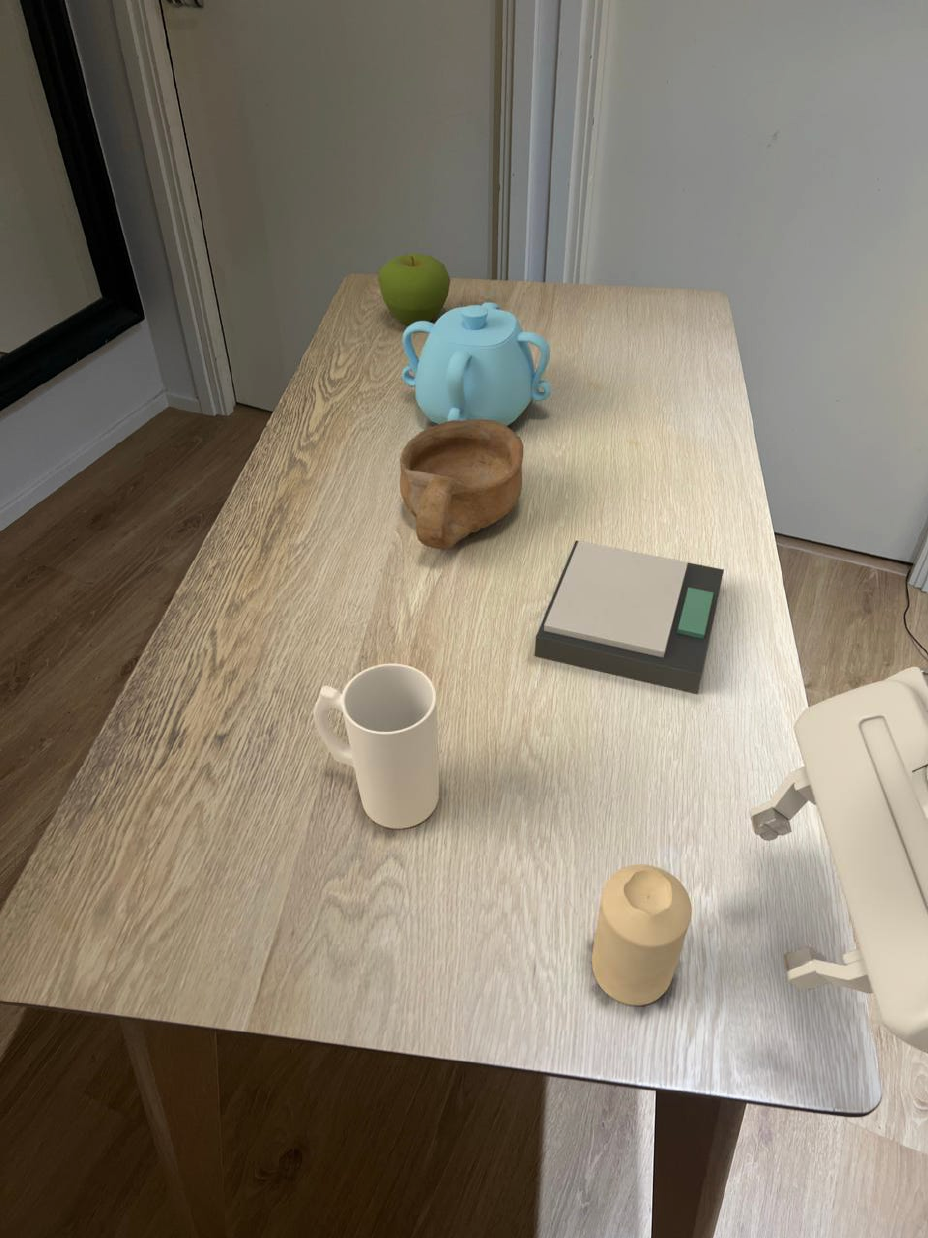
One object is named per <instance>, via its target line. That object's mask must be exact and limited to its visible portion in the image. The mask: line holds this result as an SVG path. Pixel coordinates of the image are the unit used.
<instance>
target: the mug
mask: <svg viewBox="0 0 928 1238" xmlns="http://www.w3.org/2000/svg"><path fill="white" fill-rule="evenodd" d="M330 710H337V711H339V712H341V713H343V720H344V725H345V729H346V734H347V740H348V743H349V744H348V743H347V742H345V741H344V740H343V739H342V738H340V736H338V734H337V733H336V732H335V731H334V730H333V729H334V728H333V727H332V725H331V723H330V721H329V716H328V714H329V713H328V712H330ZM313 720H314V724H315V727H316V730H317V732H318V734H319V736H320V738H321V740H322V742H323V743H324V744H325V746H326V748H327V750H328V752H329V753H330V754H331V756H332V758H333V760H334V761H335V762H337V763H339V764H343V765H345V766H348V767H351V768H353V769H354V771H355V772H354V773H355V777H356V778H355V779H356V782H357V787H358V793H359V796H360V800H361V805H362V807H363V810H364V812H365V813H366V815H367V816H368V817H369V819H370V820H372V821H373V822H374V823H376V824H378V825H379V826H382V827H385V828H387V829H388V828H389V829H395V830H396V829H407V828H411V827H412V828H413V827H414V826H417V825H419V824H421V823H422V822H424V821H425V820H427V819H428V818H429V817H430V816H431V815H432V814H433V813H434V811H435V809H436V807H437V806H438V802H439V799H440V798H439V797H440V768H439V767H440V766H439V765H440V764H439V736H438V735H439V733H438V731H439V730H438V729H439V728H438V703H437V691H436V687H435V685H434V683H433V681H432V680H431V679H430V678H429V676H428V675H427V674H426V673H424V672H423V671H421V670H420V669H418V668H416V667H413V666H411V665H407V664H403V663H382V664H377V665H372V666H371V667H370V666H369V667H368V668H366V669H364V670H362V671H360V672H358V673H357V674H356V675H355V676H353V677H351V679H350V680H349V681H348V682H347V684H345V686H344V689H343V691H342V693H341V691H340V690H339V689H337V688H335V687H332V686H330V685H326V684H325V685H324V686H323V685H322V687H321V689H320V691H319V697H318V699H317V700H316V702H315V704H314V708H313Z"/></svg>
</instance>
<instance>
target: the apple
mask: <svg viewBox="0 0 928 1238" xmlns="http://www.w3.org/2000/svg"><path fill="white" fill-rule="evenodd" d="M377 281H378V285H379V289H380V292H381V297H382V299H383V302H384V304H385V306H386V307H387V309H388V311H389V313H390V315H391V317H392V318H393V319H395V320H396V321H397V322H399V323H401V324H402V325H403V326H405V327H408V326H410V325H411V324H413V323H415V322H419V321H426V322H431V321H432V320H433V319H435V318H437V317H438V316H439V315H440V313H441V312H442V309H443V307H444V305H445V303H446V301H447V299H448V296H449V292H450V284H451V277H450V275H449V272H448V270H447V268H446V266H445V264H444V263H443V262H441V261H440V260H438V259H437V258H436V257H434V256H432V255H427V254H422V253H406V254H403V255H399V256H396V257H394V258H391V259H390V260H389V261H387V263H385V264H384V265H383V266H382V267H381V268H380V270H379V274H378V278H377Z"/></svg>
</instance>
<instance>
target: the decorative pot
mask: <svg viewBox="0 0 928 1238" xmlns="http://www.w3.org/2000/svg"><path fill="white" fill-rule="evenodd" d="M418 332H422V333H427V334H428V336H427V338H426V341H425V343H424V345H423V347H422V350H421V353H420V356H419V357H418V356H417V353H416V351H415V349H414V346H413V345H414V344H413V341H412V335H413V334H414V333H418ZM401 339H402V341H401V343H402V347H403V348H402V349H403V351H404V354H405V356H406V359H407V361H408V363H409V364H408V365H406V366H405V367H403V369H402V371H401V380H402V381H403V383H404V384H406V385H407V386H410V387H412V388H415V390H414V391H415V393H414V395H415V400H416V403H417V406H418V407H419V408H420V410H421V412H422V413H423V414H424V415H425V417H427V418H428V419H429V420H430V421H431V422H433V424H436V425H438V424H441V423H444V422H447V421H451V420H458V421H461V420H472V419H487V420H493V421H497V422H500V423H502V424H504V425H505V426H507V427H508V426H509V425H511V424H513V422H515V421H516V420H518V418H519V417H520V416H521V415H522V414H523V412H524V411H525V410H526V409H527V407H528V406H529V404H530V403H531V401H532V400H533V401H535V402H544V401H546V400H548V399H549V398H550V397H551V395H552V389H553V388H552V386H551V383H549V382H548V381H547V380H542V378H543V376H544V374H545V372H546V370H547V367H548V365H549V361H550V357H551V348H550V345H549V342H548V341H547V340H546V338H545V337H543V336H541V334H538V333H536V332H533V331H523V328H522V326H521V324H520V322H519V320H518V319H517V317H516V316H515V315H514V314H513V313H511V312H509V311H506V310H501V307H500V306H499V305H498V304H497V303H495V302H492V301H491V302H490V301H489V302H484V303H482V304H481V305H479V304H474V305H472V304H471V305H467V306H463V307H462V306H461V307H455V308H452V309H450V310H447V311H446V312H445V313H444V314H443V315H441V316H440V317H439V318H438V319H437V320H436V322H435V323H434V322H431V321H429V322H426V321H419V322H415V323H413V324H411V325H410V326H406V328H405V330H404V331H403V334H402V338H401ZM529 344H531V345H534V346H536V347H537V348H538V349H539V352H540V360H539V363H538V366H537V368H536V367H535V363H534V358H533V354H532V351H531V350H532V349H531V348H530V345H529ZM535 369H536V370H535ZM409 372H411V373H413V374H414V375H413V376H412V375H411V374H410V373H409ZM539 388H542V389H543V391H540V390H539Z"/></svg>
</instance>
